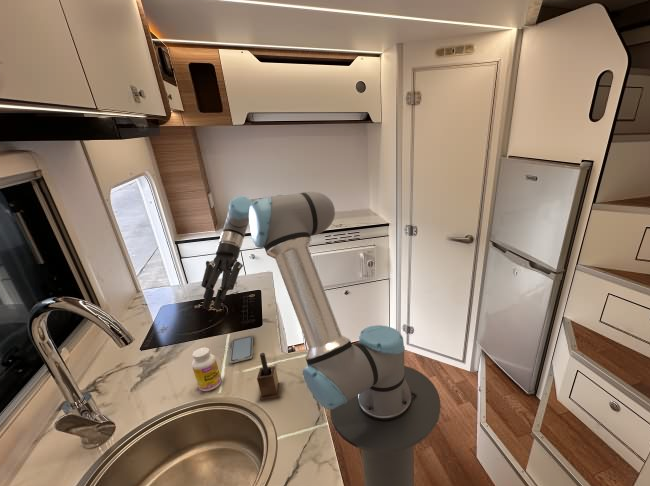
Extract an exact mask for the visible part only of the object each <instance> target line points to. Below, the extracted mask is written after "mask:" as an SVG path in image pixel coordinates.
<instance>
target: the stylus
mask: <svg viewBox="0 0 650 486" xmlns="http://www.w3.org/2000/svg"><path fill="white" fill-rule="evenodd" d="M259 357H260V362H261V366H262V367H261V368H263V371H264V376H266V375H269V370H268V367H269V366H268V362H267V357H266V353H265V352H261V353H259Z"/></svg>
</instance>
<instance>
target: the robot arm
mask: <svg viewBox="0 0 650 486" xmlns="http://www.w3.org/2000/svg"><path fill="white" fill-rule="evenodd" d="M335 209H336V208H335V206H334V203H333V201H332V200H331V199H330V198H329V197H328V196H327V195H326V194H324V193H321V192H317V191H303V192H297V193H292V194H291V193H290V194H278V195H272V196H267V197H266V196H265V197H259V198H251V199H250V198H249V197H246V196H243V195H239V196H235V197H233V198H232V199H231V201H230V202H229V204H228V209H227V215H226V219H225V222H224V225H223V229H222V232H221V234H220V238H219V241H218V244H217V247H216V251H215V257H214V258H213V260H211V261H209V260H206V261H205V270H204V274H203V277H202V281H201V287H202V288H204V294H203V302H202V305H201V308H203V309H205V310H210V307H211V304H212V301H213V298H214V294H215V290H214V288H215V286H216V284H217V282H218V280H219V278H220V276H221V274H222V277H221V284H220V287H219V288H218V289H217V292H216V295H215V298H214V302H213V305H212V308H213V309H214V310H216V311H217V310H218V311H220V310H221V307H222V305H223V301H225V299H226V296H227V293H228V291H233V290H234V288H235V286H236V283H237V280H238V277H239V273H240V272H241V270H242V268H244V267H243V266H244V264H243V263H241V262H240V261H238V259H239V257H240V253H241V249H242V246H243V243H244V239H245V235H246V232H247V229H248V226H249V229H250V235H251V239H252V243H254V246H255V248H257V249H259V248H260V249H263V248H264V250H265V253H266V256H268V257H271V258H273V259H274V260H275V262H276V264H277V267H278V270H279V272H280V275H281V277H282V280H283V283H284V286H285V289H286V291H287V294H288V297H289V300H290V302H291V305H292V307H293V311H294V313H295V316H296V318H297V321H298V323H299V326H300V329H301V332H302V334H303V337H304V340H305V342H306V345H307V348H308V351H307V353H306V356H305V361H306V363H307V365H306V366H304V368H303V369H302V376H303V381H304V382H305V385H306V387H307V389H308V390H309V393H311V395H312V397H313V398H314V399H315V400H316V402H317V403H318V404H319V405H320V406H321V407H322V408H324V409H326V410H330V409H334V408H336V407H338V406H340V405H342V404H346V403H347V401H349V400H351V399H352V398H354V397H356V396H357V395H358V399H359V406H360V409H361V411H362V412H363V413H364V414H365V415H366V416H367V417H369V418H371V419H373V420H377V421H391V420H395V419H398V418H400V417H401V416H403V415H404V414H405V413H406V412H407V411H408V409H409V408H410V405H411V395H412V396H414V397H416V396H417V394H415V393H413V392H412V391H410V388H409V386H408V384H407V382H406V379H405V377H404V366H405V350H406V348H405V344H404V337H403V334H401V332H400V331H399V330H398V329H396V328H394V327H391V326H387V325H380V324H379V325H378V324H377V325H370V326H367V327H364V328H363V329H362V330H361V331H360V334H359V336H358V339H359V341H357V342H355V343H353V344H352V341H351V339H350V338H349V337H346V336H344V335H343V334H342V332H341V329H340V327H339V325H338V322H337V319H336V317H335V314H334V311H333V309H332V306H331V304H330V303H331V302H330V301H329V298H328V296H327V292H326V290H325V287H324V285H323V283H322V279H321V276H320V275H319V272H318V270H317V266H316V264H315V262H314V259H313V257H312V254H311V251H310V249H309V247H310V245H311V243H312V236H316V235H319V234H321V233H323V232H325V231H327V230H328V229H329V227H330V226H331V225H332V224H333V222H334V219H335V215H336V210H335Z"/></svg>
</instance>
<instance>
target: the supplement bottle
mask: <svg viewBox="0 0 650 486" xmlns="http://www.w3.org/2000/svg"><path fill="white" fill-rule="evenodd" d="M192 359H193V360H192V362H191V369H192V372H193V374H194V378H195V380H196V383H197V386H198V389H199V390H200V391H202V392H209V391H213V390H214V389H217V388H218V387H219V386H220V385H221V383H222V376H221V372H220V369H219V366H218V362H217V359H216V356H215V355H214V354H212V353H211V351H210V348H208V347H200V348H197V349H195V350H194V351H193V352H192Z"/></svg>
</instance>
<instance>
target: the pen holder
mask: <svg viewBox="0 0 650 486" xmlns="http://www.w3.org/2000/svg"><path fill="white" fill-rule="evenodd" d="M268 370H269V375H266V376H264V371H263V367H260V368H259V370H258V372H257V373H258V374H257V377H256V380H257V384H258V388H259V392H260V394H259V398H258V399H259V401H261V402H262V401H267V400H272V399H279V398H280V396H281V395H280V394H281V388H282V382H280V381H279V377H278V373H277V368H276V365H271V366H268Z"/></svg>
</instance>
